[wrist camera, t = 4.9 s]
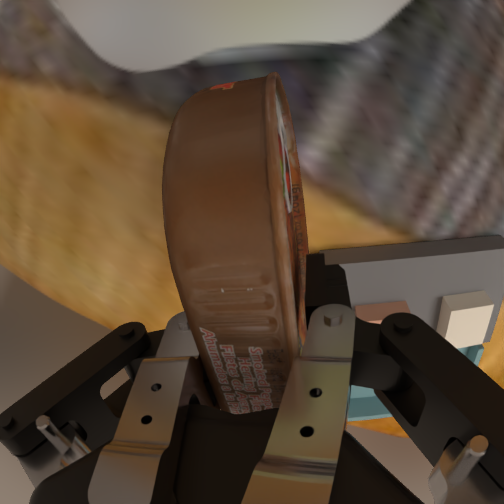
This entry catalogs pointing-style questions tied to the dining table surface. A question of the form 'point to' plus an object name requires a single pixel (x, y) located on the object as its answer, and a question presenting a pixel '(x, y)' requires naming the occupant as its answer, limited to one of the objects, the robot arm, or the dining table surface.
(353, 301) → the grey stone slab
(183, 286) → the tin
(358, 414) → the tray
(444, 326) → the cream tile
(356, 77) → the dining table surface
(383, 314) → the terracotta tile
